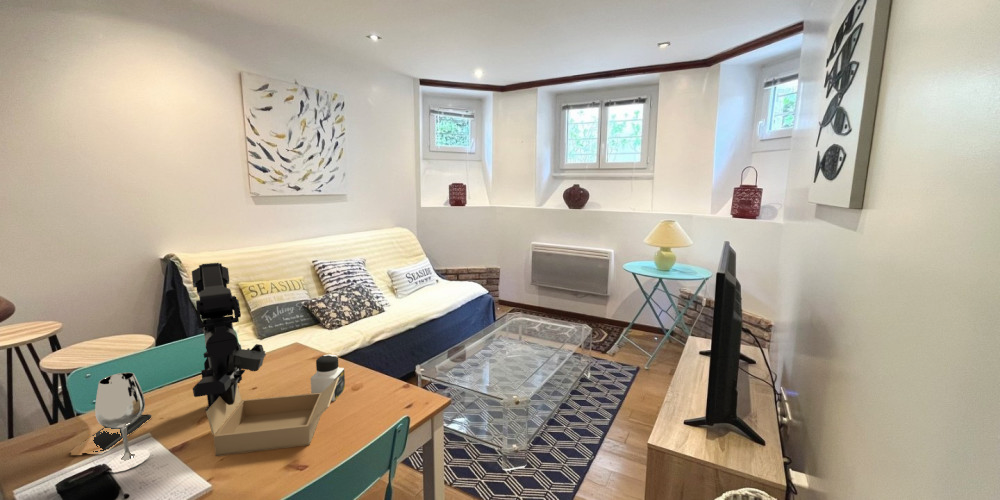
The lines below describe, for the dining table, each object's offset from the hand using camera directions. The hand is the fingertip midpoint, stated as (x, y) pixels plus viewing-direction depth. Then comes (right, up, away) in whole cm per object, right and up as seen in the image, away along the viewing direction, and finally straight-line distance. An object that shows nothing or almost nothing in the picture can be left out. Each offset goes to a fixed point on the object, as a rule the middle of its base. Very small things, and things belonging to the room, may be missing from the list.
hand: (231, 404), depth 96 cm
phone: (-30, -8, 0) cm, 31 cm away
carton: (+9, -8, +3) cm, 12 cm away
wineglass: (-17, -10, -9) cm, 21 cm away
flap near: (-1, 0, 0) cm, 1 cm away
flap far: (+21, -1, +5) cm, 21 cm away
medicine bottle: (+15, -6, +21) cm, 26 cm away
